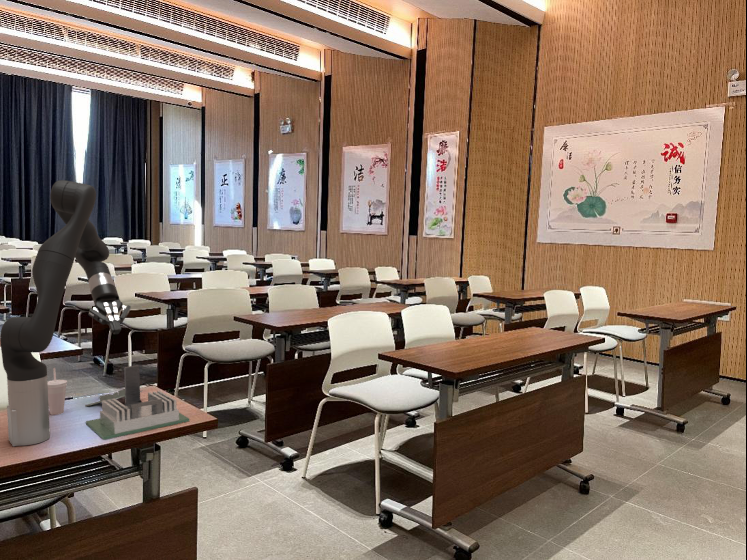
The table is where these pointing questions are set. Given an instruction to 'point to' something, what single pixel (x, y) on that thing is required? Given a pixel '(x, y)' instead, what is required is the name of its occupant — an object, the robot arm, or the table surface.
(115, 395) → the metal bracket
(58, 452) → the table surface
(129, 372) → the dark gray rectangular plate
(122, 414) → the heatsink
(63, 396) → the smoothie
